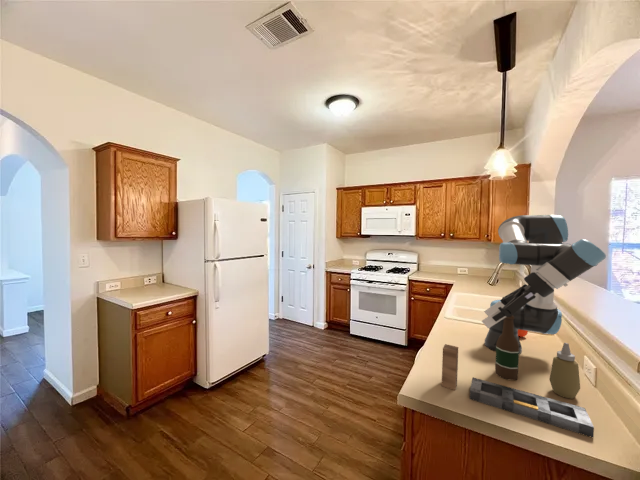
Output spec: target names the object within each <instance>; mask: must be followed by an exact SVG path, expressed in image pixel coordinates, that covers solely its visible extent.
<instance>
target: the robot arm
mask: <svg viewBox="0 0 640 480" xmlns="http://www.w3.org/2000/svg"><path fill="white" fill-rule="evenodd" d="M497 232H498V233H497V234H498V236H499V238H500V240H502V242H501V243H500V244H499V249H498V260H499V263H501V264H506V265H507V264H508V265H521V266H524V265H525V266H530V273H529V274H528V275H526V276H525V277H523V279H524V282H525V284H523V285H522V286H520V287H519V288H516V290H513V291H512V292H510V293H508V294H507V295H505V296H502V298H501V299H495V300H492V301H491V302H490V306H489V307H488V308H487V309H485V310H483V312H484V313H485V315H486V316H487V317H485V318H484V319H482V320H481V322H482V324H483V325H484V326H485V327H486V328H487V329H488V331H487V334H486V335H485V338H484V346H485V347H486V348H488V349H490V350H492V351H495V352H496V344H497V340H498V338H499V336H500V335H501V334H502V331H503V323H504V318H506V317H507V316H508V317H511V315H513V316H514V320H513V323H514V336H515V338H516V339H517V341H518V344H519V355H520V354H522V351H523V349H522V344H521V340H520V338H519V336H518V329H520V330H526V331H528V332H533V333H539V334H542V335H556V334H558V332H559V331H560V329H561V326H562V321H563V319H562V318H563V313H562V311H561V310H560V309H559V308H558V305H557V304H556V303H555V302H554V295H555V289H556V290H559V289H560V288H562V287H567V286H568V285H569V284H568V283H569V282H571V281H573V280H575V279H576V278H578V277H580V276H581V275H582V274H584V273H586V272H588V271H589V270H591V269H592V268H593V267H596V266H598V265H599V264H600V263H601V262H603V261H604V260H606V258H607V255H606V253H605V252H604V251H603V250H602V249H601V248H600V247H598V246H597V245H596V244H595V243H593V242H591V241H590V240H588V239H584V238H582V239H579V240H578V241H576V242H574V243H572V244H571V243H566V242H568V240H569V239H568V238H569V227H568V222H567V221H566V218H565V217H564V216H562V215H559V214H558V215H557V214H532V215H531V214H529V215H526V214H524V215H523V214H522V215H521V214H520V215H516V216H515V215H514V216H512V217H509V218H507V219H506V220H503V222H501V224H499V226H498V229H497ZM526 283H527V284H526Z"/></svg>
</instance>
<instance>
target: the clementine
mask: <svg viewBox="0 0 640 480" xmlns="http://www.w3.org/2000/svg"><path fill="white" fill-rule="evenodd" d="M528 332H529V331H526V330H520V329H518V337H519V336H520V338H524V337H526V336H527V335H528Z"/></svg>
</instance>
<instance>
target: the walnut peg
mask: <svg viewBox="0 0 640 480" xmlns="http://www.w3.org/2000/svg"><path fill="white" fill-rule="evenodd" d="M441 362H442V364H441V387H444V388H447V389H450V390H453V391H456V389H457V387H458V372H459V371H458V369H459V367H458V364H459V347H458V346H455V345H451V344H446V343H445V344H444V345H443V347H442V361H441Z"/></svg>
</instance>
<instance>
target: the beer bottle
mask: <svg viewBox="0 0 640 480" xmlns="http://www.w3.org/2000/svg"><path fill="white" fill-rule="evenodd" d="M513 320H514V316H513V315H511V317H508V316H507V317H506V318H504V323H503V331H502V334H501V335H500V336H499V338H498V340H497V344H496V351H495V362H494V363H495V364H494V365H495V366H494V369H495V374H496V375H497V376H498V377H499V378H502V379H505V380H509V381H515V380H516V381H517V380H518V376H519V364H520V363H519V361H520V359H519V358H520V357H519V356H520V354H519V344H518V341H517V339H516V338H515V336H514V323H513Z"/></svg>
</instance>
